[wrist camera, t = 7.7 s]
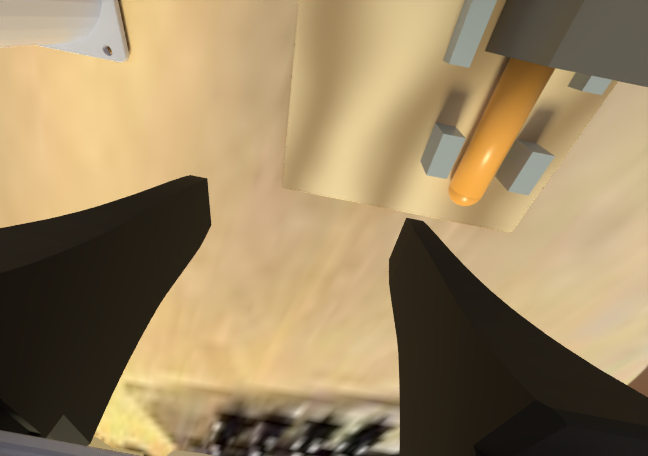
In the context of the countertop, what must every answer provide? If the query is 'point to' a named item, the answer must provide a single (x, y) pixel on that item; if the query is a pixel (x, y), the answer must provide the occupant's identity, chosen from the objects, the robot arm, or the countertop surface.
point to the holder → (471, 32)
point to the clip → (513, 174)
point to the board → (407, 108)
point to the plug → (548, 70)
